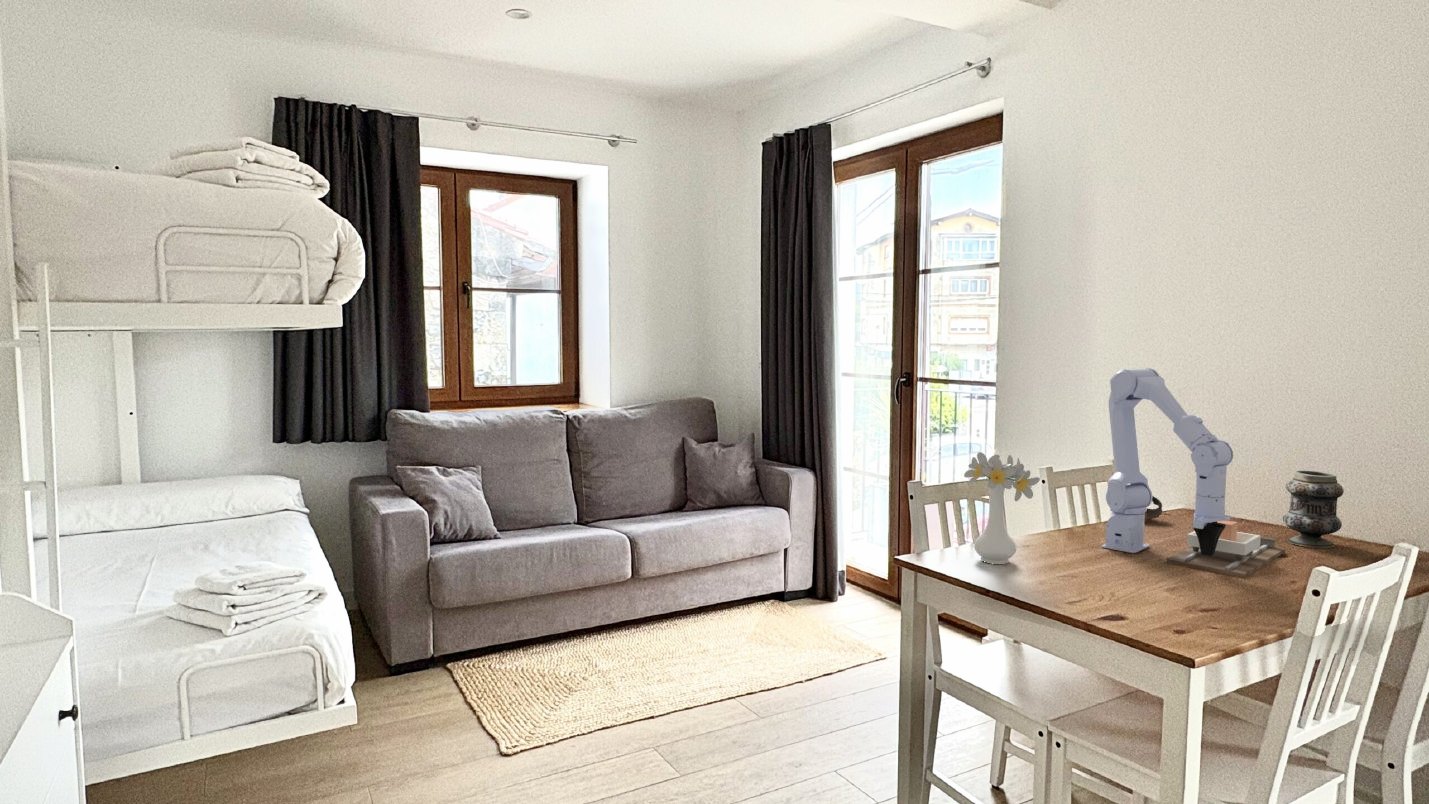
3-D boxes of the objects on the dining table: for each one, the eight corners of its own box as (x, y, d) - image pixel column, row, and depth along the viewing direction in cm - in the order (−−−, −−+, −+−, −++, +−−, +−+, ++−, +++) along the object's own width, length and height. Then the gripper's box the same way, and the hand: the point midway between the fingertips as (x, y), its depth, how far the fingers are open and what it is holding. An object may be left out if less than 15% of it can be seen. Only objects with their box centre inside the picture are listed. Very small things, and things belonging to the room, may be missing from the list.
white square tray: (1244, 562, 190) (1245, 544, 189) (1186, 551, 198) (1187, 534, 198) (1259, 553, 197) (1260, 535, 197) (1202, 543, 206) (1203, 526, 205)
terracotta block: (1230, 546, 195) (1231, 524, 194) (1211, 543, 198) (1212, 521, 197) (1236, 543, 197) (1237, 522, 197) (1217, 540, 200) (1218, 519, 200)
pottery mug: (1156, 518, 243) (1166, 496, 238) (1154, 539, 236) (1164, 517, 231) (1112, 504, 247) (1121, 483, 242) (1108, 524, 240) (1117, 502, 235)
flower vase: (1014, 576, 186) (1017, 463, 184) (948, 557, 201) (950, 453, 199) (1050, 566, 194) (1053, 458, 191) (983, 548, 209) (986, 448, 206)
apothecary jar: (1351, 547, 208) (1356, 474, 207) (1319, 552, 204) (1323, 478, 202) (1302, 535, 220) (1306, 467, 218) (1270, 540, 215) (1274, 470, 214)
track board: (1244, 578, 184) (1245, 564, 184) (1166, 563, 196) (1166, 550, 195) (1284, 552, 204) (1285, 540, 204) (1211, 540, 216) (1211, 528, 215)
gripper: (1219, 502, 181) (1216, 564, 183) (1241, 493, 191) (1238, 552, 192) (1183, 497, 187) (1180, 558, 188) (1206, 488, 196) (1204, 546, 198)
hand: (1207, 554), depth 190 cm, fingers closed
